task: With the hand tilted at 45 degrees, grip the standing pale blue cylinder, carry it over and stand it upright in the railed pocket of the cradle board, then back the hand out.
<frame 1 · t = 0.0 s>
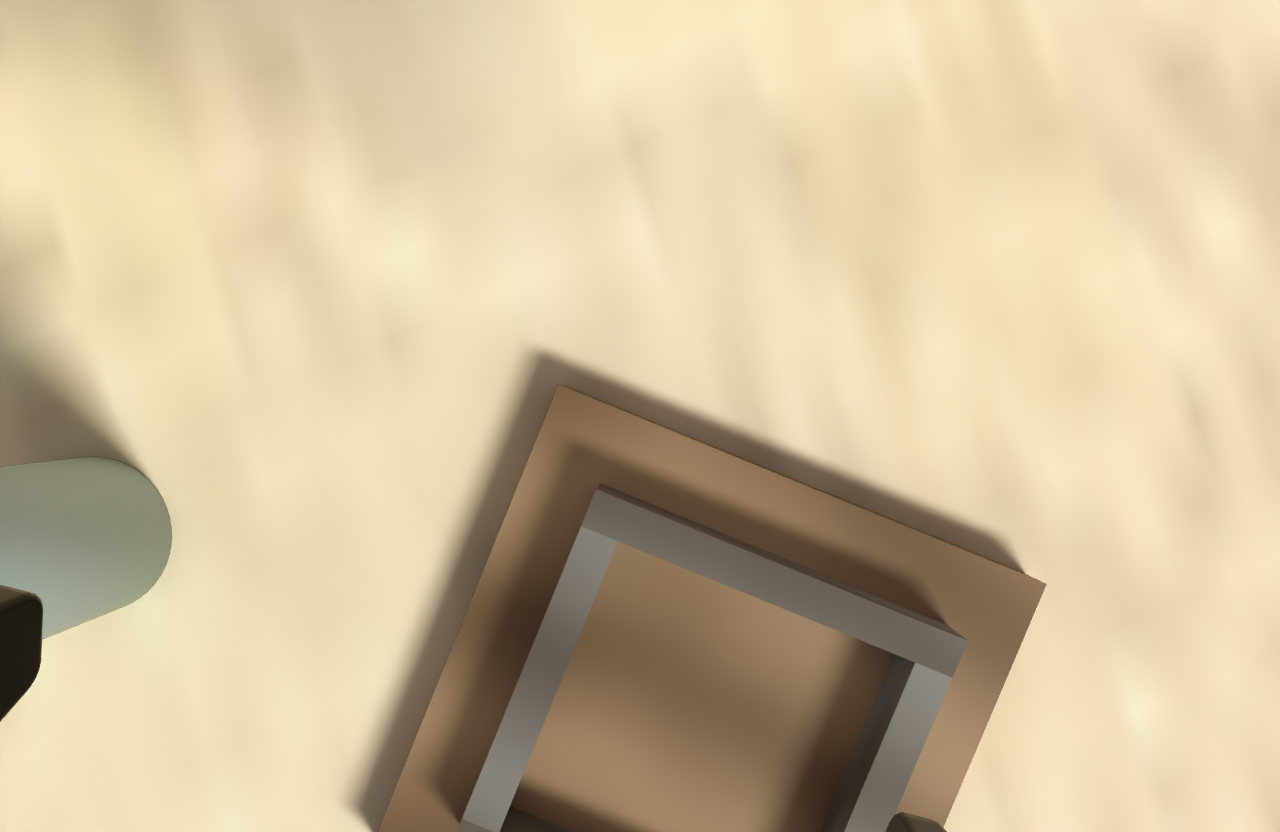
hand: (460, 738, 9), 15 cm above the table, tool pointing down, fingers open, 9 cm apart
pale blue cylinder: (94, 534, 25), on the table
cradle board: (699, 709, 24), on the table
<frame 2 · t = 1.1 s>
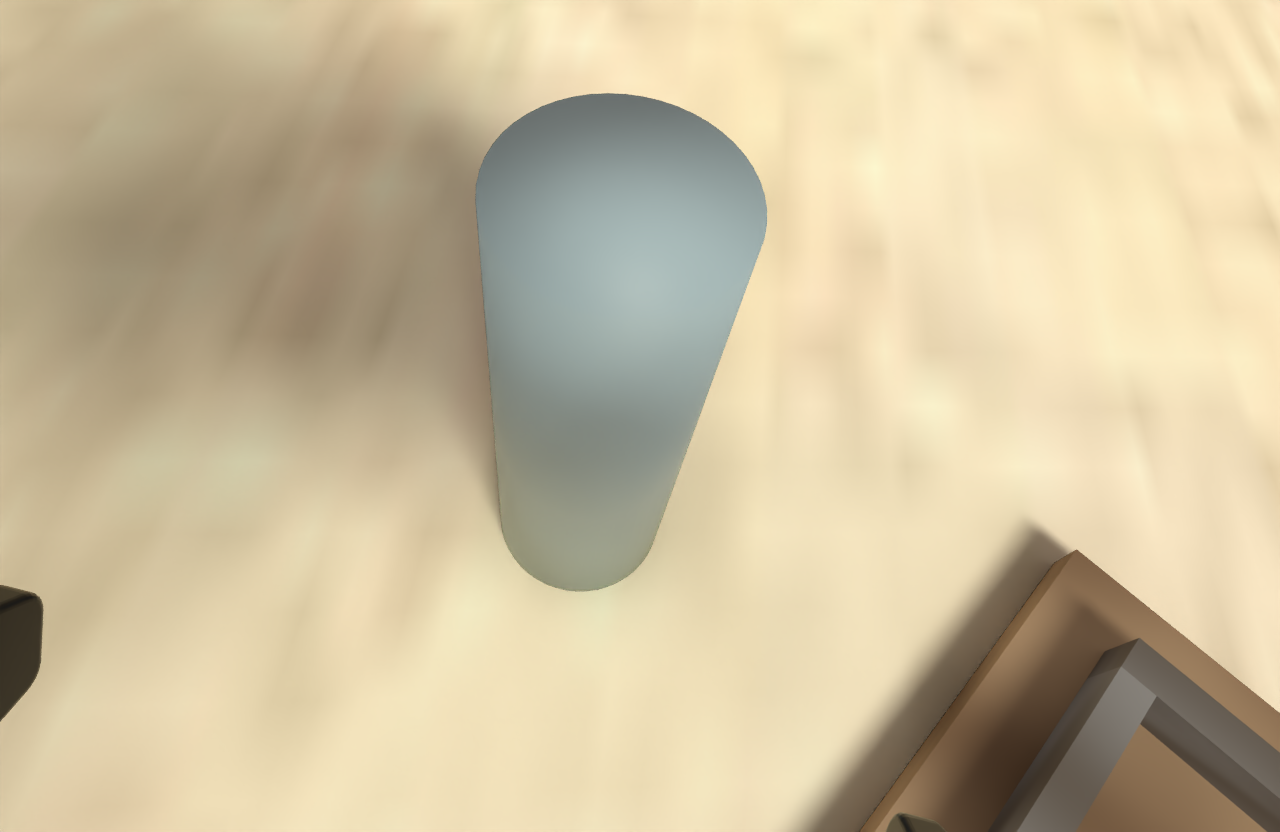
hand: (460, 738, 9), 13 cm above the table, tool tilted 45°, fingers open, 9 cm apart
pale blue cylinder: (579, 515, 24), on the table
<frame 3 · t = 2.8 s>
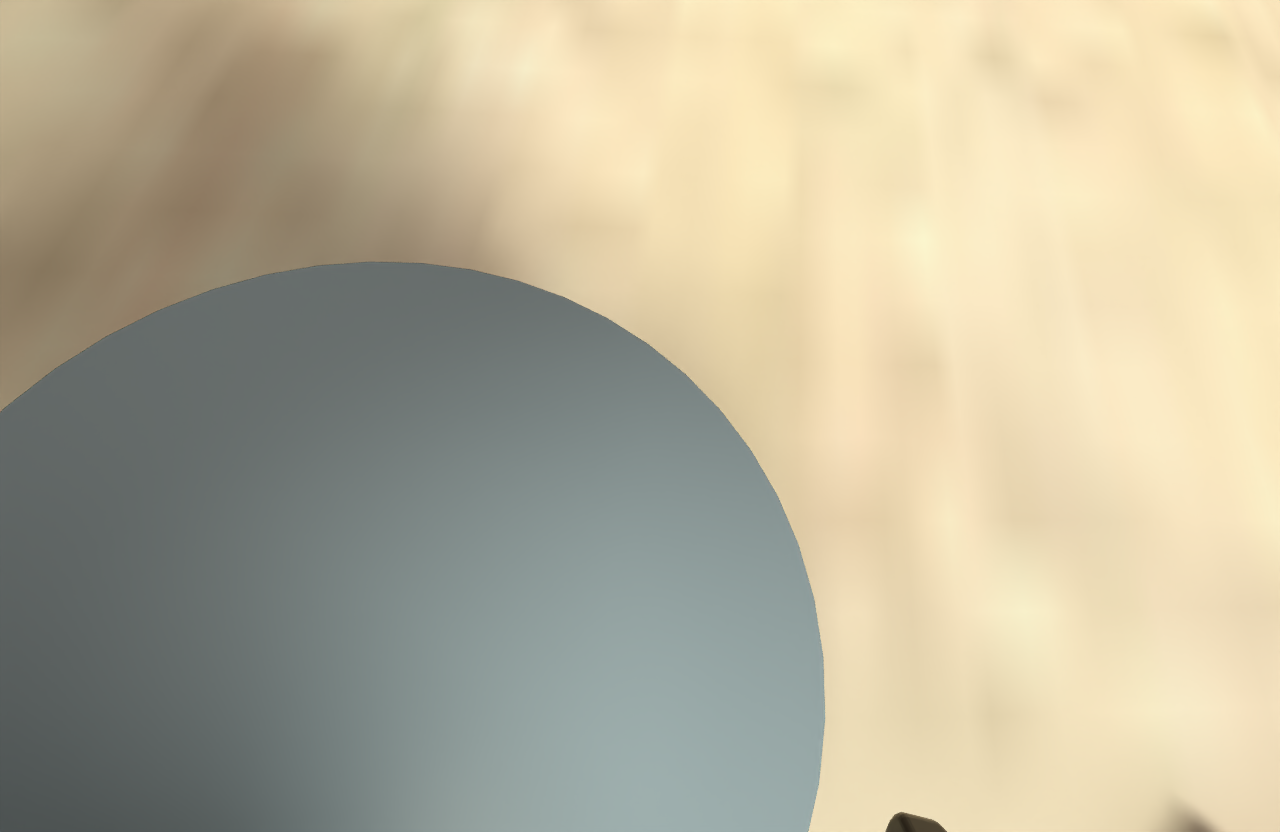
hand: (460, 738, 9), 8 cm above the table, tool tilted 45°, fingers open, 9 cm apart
pale blue cylinder: (481, 825, 15), on the table
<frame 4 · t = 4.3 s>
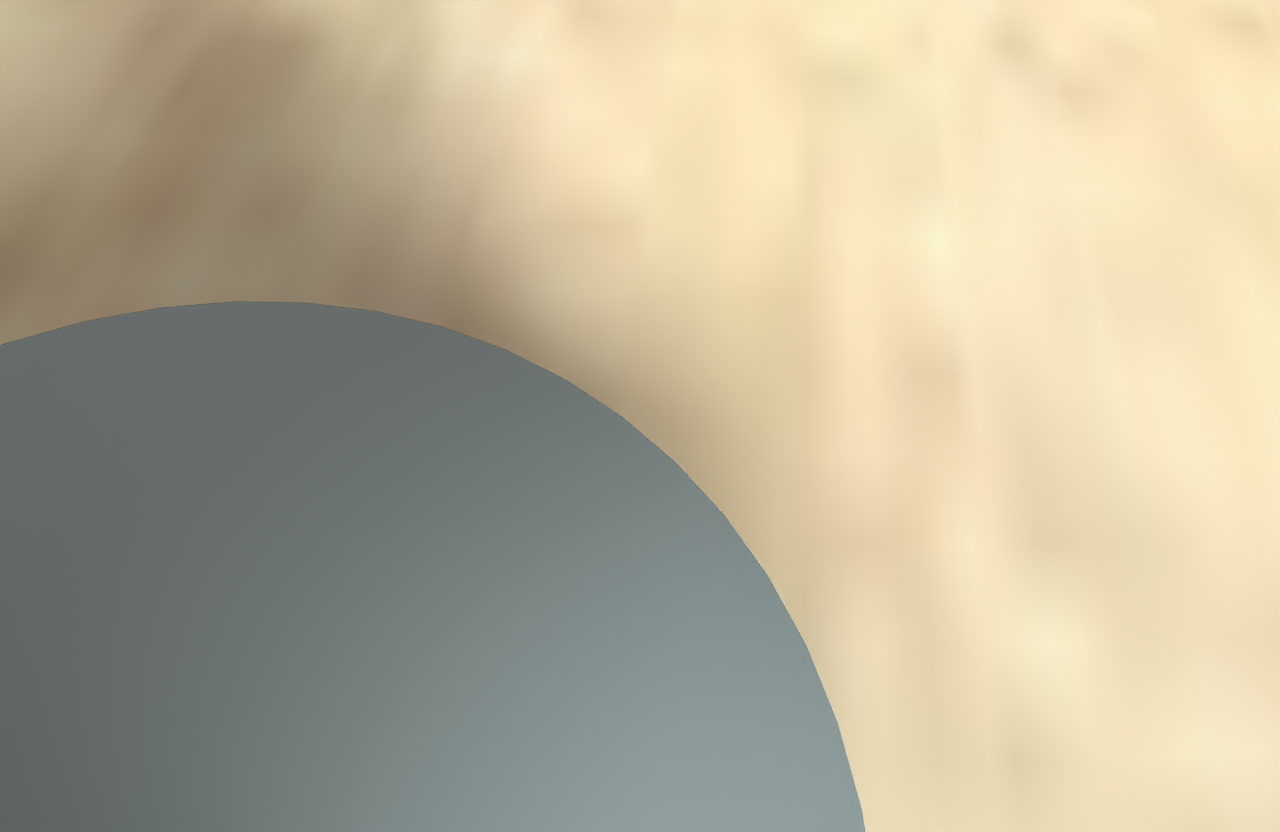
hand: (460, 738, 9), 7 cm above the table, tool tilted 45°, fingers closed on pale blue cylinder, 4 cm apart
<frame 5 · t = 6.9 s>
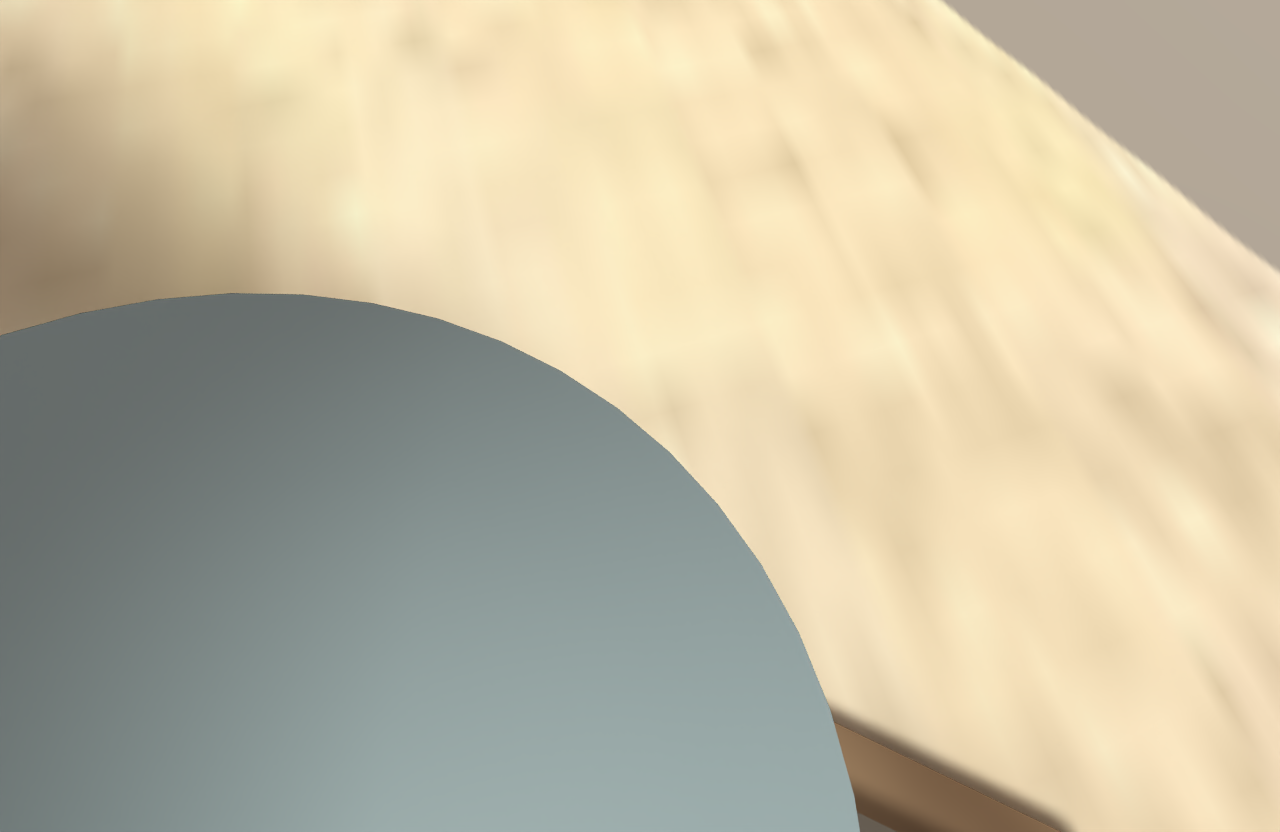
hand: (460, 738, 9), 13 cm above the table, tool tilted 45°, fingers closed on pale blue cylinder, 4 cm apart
when the fingers open (9 cm above the table, at t = 9.4 s): pale blue cylinder drops 1 cm, resting on cradle board.
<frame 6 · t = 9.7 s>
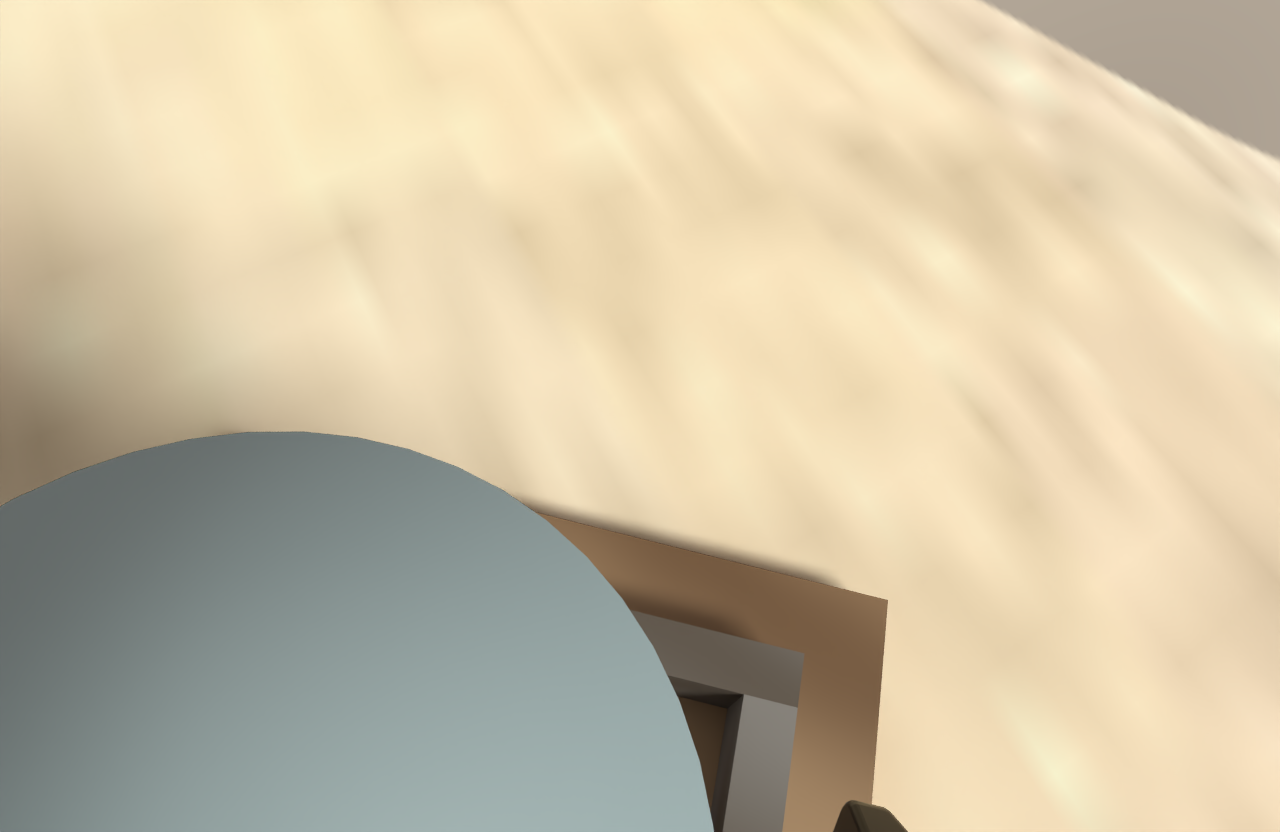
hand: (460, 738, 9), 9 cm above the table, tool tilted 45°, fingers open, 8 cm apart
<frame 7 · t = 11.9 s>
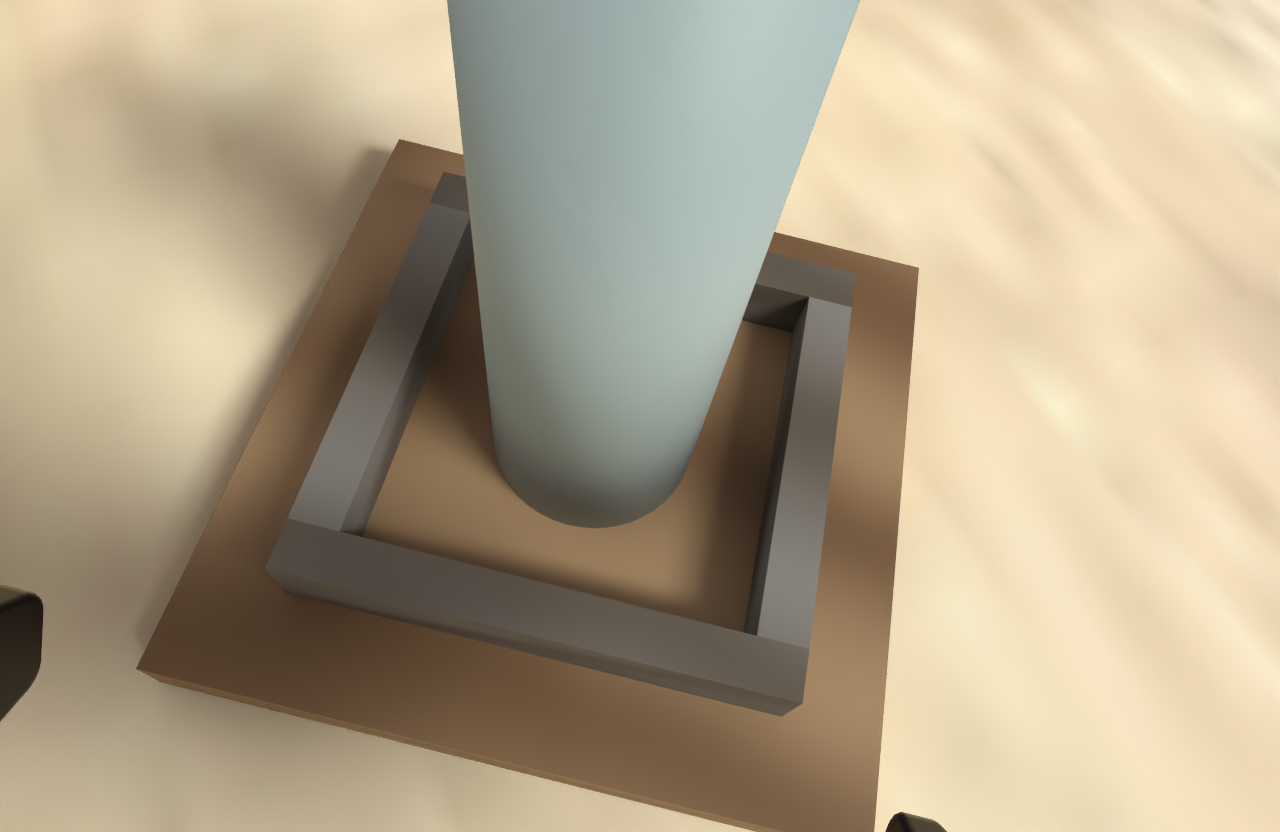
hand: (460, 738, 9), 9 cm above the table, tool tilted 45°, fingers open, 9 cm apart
pale blue cylinder: (593, 434, 19), point 1 cm above the table, touching cradle board
cradle board: (591, 456, 20), on the table
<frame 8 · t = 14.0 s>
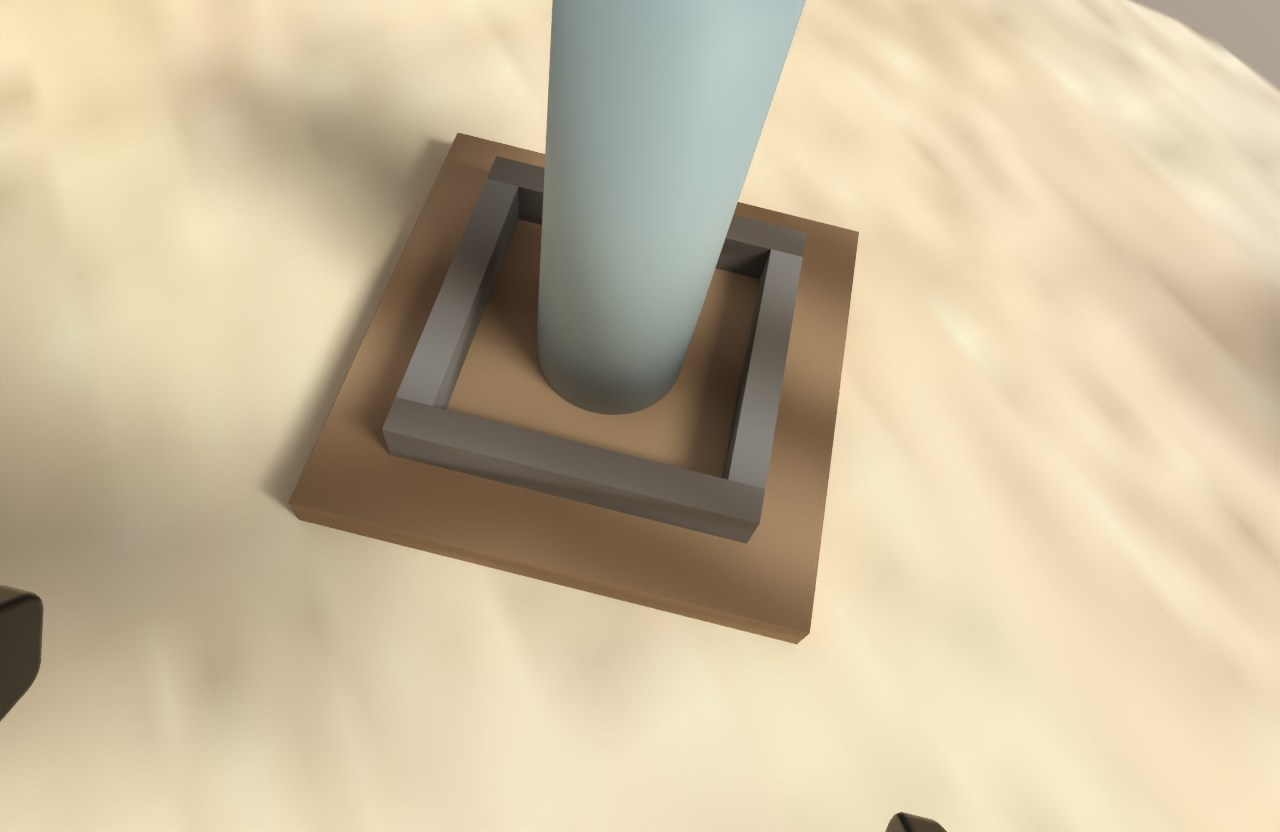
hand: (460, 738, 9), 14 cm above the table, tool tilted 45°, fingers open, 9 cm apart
pale blue cylinder: (610, 349, 26), point 1 cm above the table, touching cradle board
cradle board: (607, 370, 27), on the table
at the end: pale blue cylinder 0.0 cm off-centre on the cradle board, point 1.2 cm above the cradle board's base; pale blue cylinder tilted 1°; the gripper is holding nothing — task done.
